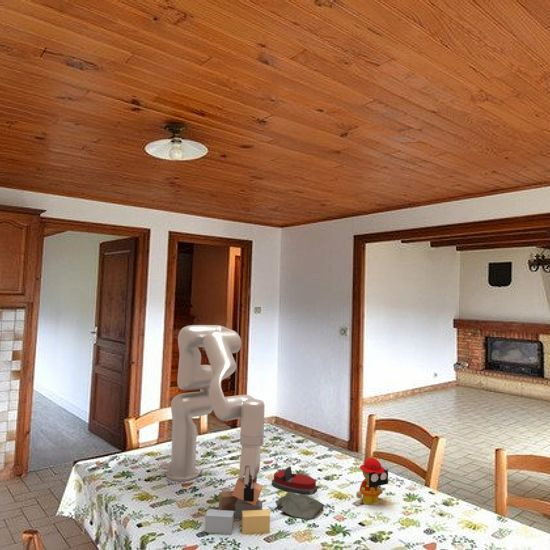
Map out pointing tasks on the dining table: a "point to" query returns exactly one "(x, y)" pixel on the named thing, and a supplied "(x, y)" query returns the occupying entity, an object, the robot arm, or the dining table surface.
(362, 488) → the toy
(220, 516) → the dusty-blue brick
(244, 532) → the ochre brick
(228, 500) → the walnut brick
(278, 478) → the bumper car
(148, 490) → the dining table surface
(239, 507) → the charcoal brick
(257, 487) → the terracotta brick
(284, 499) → the artifact
